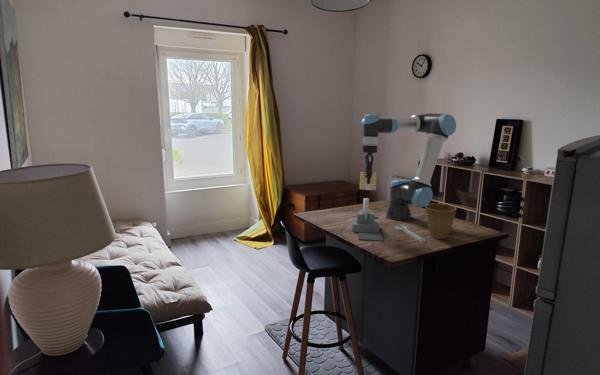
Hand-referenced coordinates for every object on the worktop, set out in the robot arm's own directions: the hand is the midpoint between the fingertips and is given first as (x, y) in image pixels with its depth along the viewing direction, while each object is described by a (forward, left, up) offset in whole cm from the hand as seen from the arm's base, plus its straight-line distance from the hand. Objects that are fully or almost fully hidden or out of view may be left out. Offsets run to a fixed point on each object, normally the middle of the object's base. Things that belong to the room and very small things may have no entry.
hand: (367, 188), depth 203 cm
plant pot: (-37, +4, -24) cm, 44 cm away
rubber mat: (-2, +9, -24) cm, 26 cm away
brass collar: (0, 0, 0) cm, 0 cm away
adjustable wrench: (-23, +2, -24) cm, 33 cm away
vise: (0, -4, -24) cm, 24 cm away
